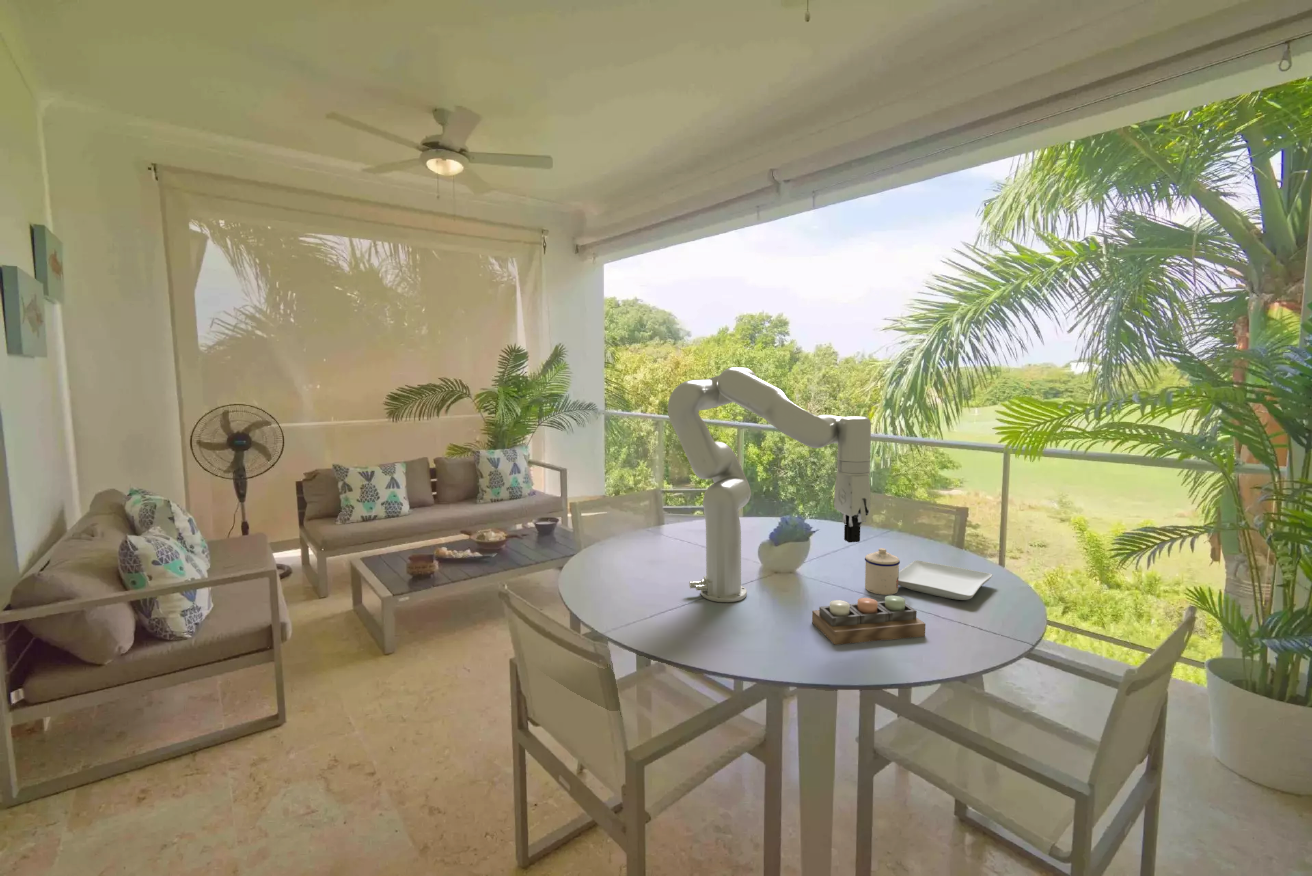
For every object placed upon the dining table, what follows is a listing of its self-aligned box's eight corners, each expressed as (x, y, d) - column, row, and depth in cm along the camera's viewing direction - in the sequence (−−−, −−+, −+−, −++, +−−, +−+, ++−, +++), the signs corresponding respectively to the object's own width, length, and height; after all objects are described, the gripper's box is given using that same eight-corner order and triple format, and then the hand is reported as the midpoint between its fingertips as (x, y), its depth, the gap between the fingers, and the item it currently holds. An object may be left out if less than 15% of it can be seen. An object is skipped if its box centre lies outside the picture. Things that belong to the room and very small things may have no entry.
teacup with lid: (905, 595, 159) (906, 553, 157) (872, 596, 158) (873, 554, 157) (885, 579, 171) (886, 540, 169) (854, 580, 170) (855, 541, 169)
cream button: (834, 618, 134) (835, 608, 134) (826, 610, 138) (826, 600, 138) (852, 616, 135) (853, 606, 134) (843, 609, 139) (844, 599, 139)
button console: (834, 644, 130) (835, 623, 130) (812, 622, 142) (812, 602, 142) (925, 636, 134) (925, 615, 133) (895, 615, 146) (896, 595, 145)
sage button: (891, 613, 136) (891, 603, 136) (881, 605, 141) (881, 596, 140) (908, 611, 137) (909, 601, 137) (898, 604, 141) (898, 594, 141)
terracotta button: (863, 615, 135) (863, 605, 135) (854, 608, 139) (854, 598, 139) (881, 614, 136) (881, 604, 136) (871, 606, 140) (871, 597, 140)
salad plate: (888, 588, 164) (888, 576, 163) (915, 569, 179) (915, 558, 179) (971, 608, 149) (972, 595, 149) (993, 585, 165) (993, 573, 164)
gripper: (825, 463, 149) (824, 533, 151) (854, 473, 134) (852, 551, 136) (852, 462, 150) (851, 532, 152) (884, 471, 135) (882, 549, 137)
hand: (852, 540), depth 144 cm, fingers closed
